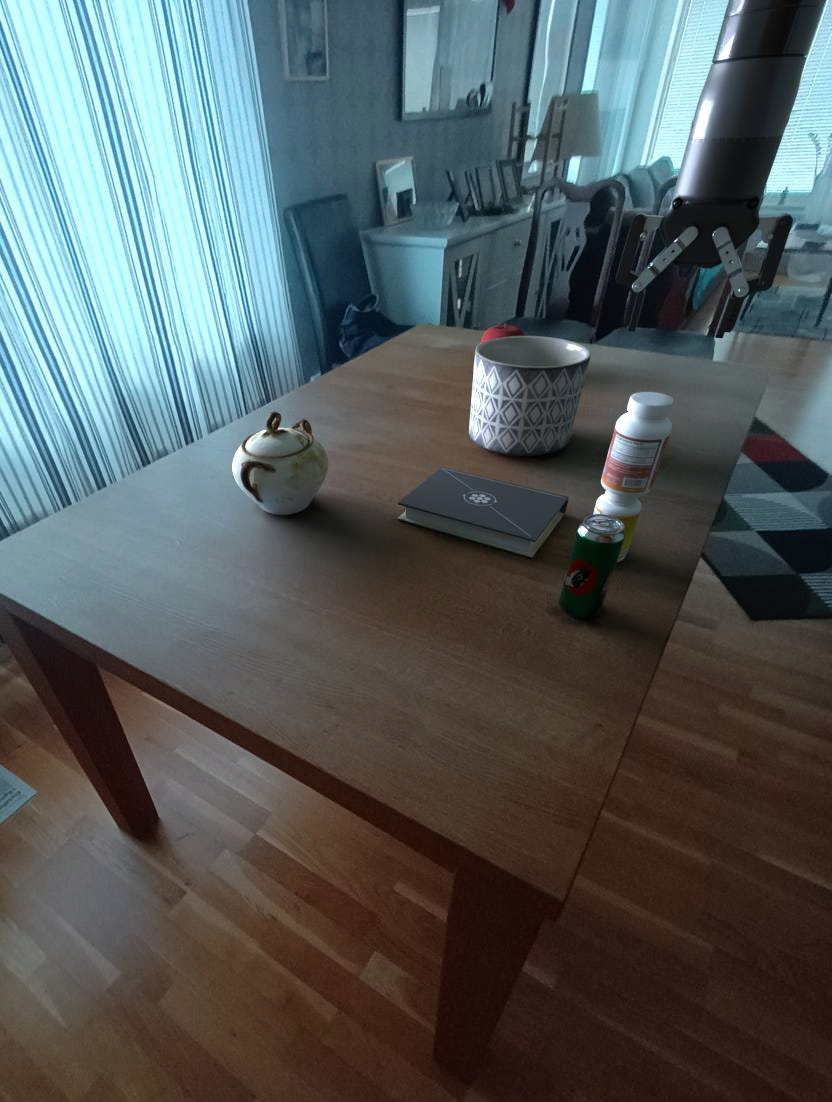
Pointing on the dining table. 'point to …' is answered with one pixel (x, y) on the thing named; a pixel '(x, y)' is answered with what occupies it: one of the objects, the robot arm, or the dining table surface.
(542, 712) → the dining table surface
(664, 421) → the pill bottle
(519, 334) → the apple
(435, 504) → the book
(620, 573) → the dining table surface
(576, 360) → the planter
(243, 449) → the sugar bowl
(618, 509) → the supplement bottle
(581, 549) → the soda can
